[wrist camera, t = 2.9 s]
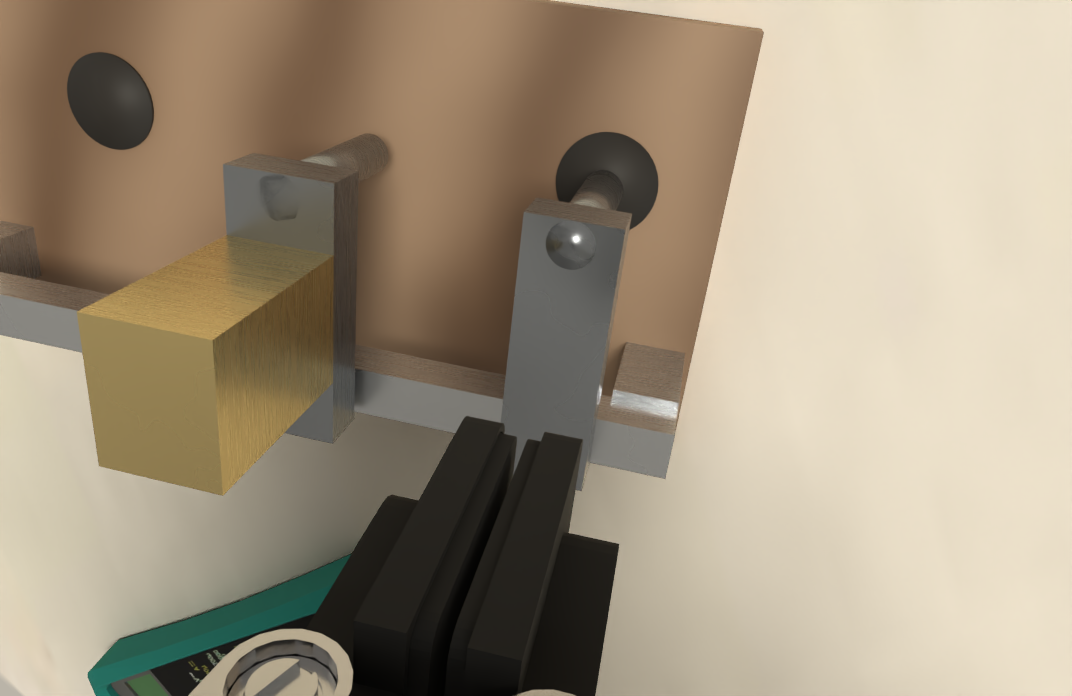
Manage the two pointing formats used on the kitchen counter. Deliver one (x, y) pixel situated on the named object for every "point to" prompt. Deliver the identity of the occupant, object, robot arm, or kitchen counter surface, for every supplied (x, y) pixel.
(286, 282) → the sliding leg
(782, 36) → the kitchen counter surface
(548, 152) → the bolt plate
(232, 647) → the digital multimeter
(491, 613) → the robot arm
